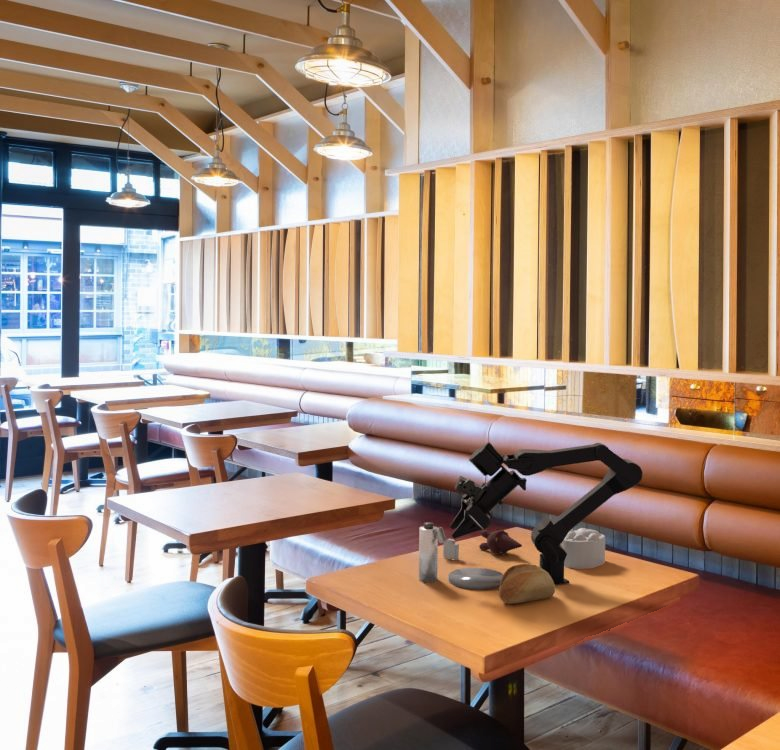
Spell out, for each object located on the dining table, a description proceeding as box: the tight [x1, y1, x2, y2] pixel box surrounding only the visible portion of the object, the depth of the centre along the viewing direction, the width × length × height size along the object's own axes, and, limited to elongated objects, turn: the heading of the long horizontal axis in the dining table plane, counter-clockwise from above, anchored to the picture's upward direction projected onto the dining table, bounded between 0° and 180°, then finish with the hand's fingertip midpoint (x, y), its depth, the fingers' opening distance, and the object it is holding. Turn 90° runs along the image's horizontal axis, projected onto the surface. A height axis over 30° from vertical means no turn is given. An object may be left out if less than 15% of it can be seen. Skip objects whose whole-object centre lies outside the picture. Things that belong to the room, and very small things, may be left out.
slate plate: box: [448, 567, 504, 591], centre depth 202 cm, size 14×14×1 cm
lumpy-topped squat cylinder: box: [561, 527, 606, 570], centre depth 218 cm, size 10×13×9 cm
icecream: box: [478, 529, 523, 556], centre depth 226 cm, size 7×7×15 cm
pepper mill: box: [418, 521, 439, 583], centre depth 203 cm, size 5×5×14 cm
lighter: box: [437, 526, 460, 561], centre depth 222 cm, size 7×2×8 cm, turn 48°
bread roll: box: [498, 563, 556, 605], centre depth 188 cm, size 10×15×8 cm, turn 123°
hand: (451, 532), depth 202 cm, fingers open, 9 cm apart
